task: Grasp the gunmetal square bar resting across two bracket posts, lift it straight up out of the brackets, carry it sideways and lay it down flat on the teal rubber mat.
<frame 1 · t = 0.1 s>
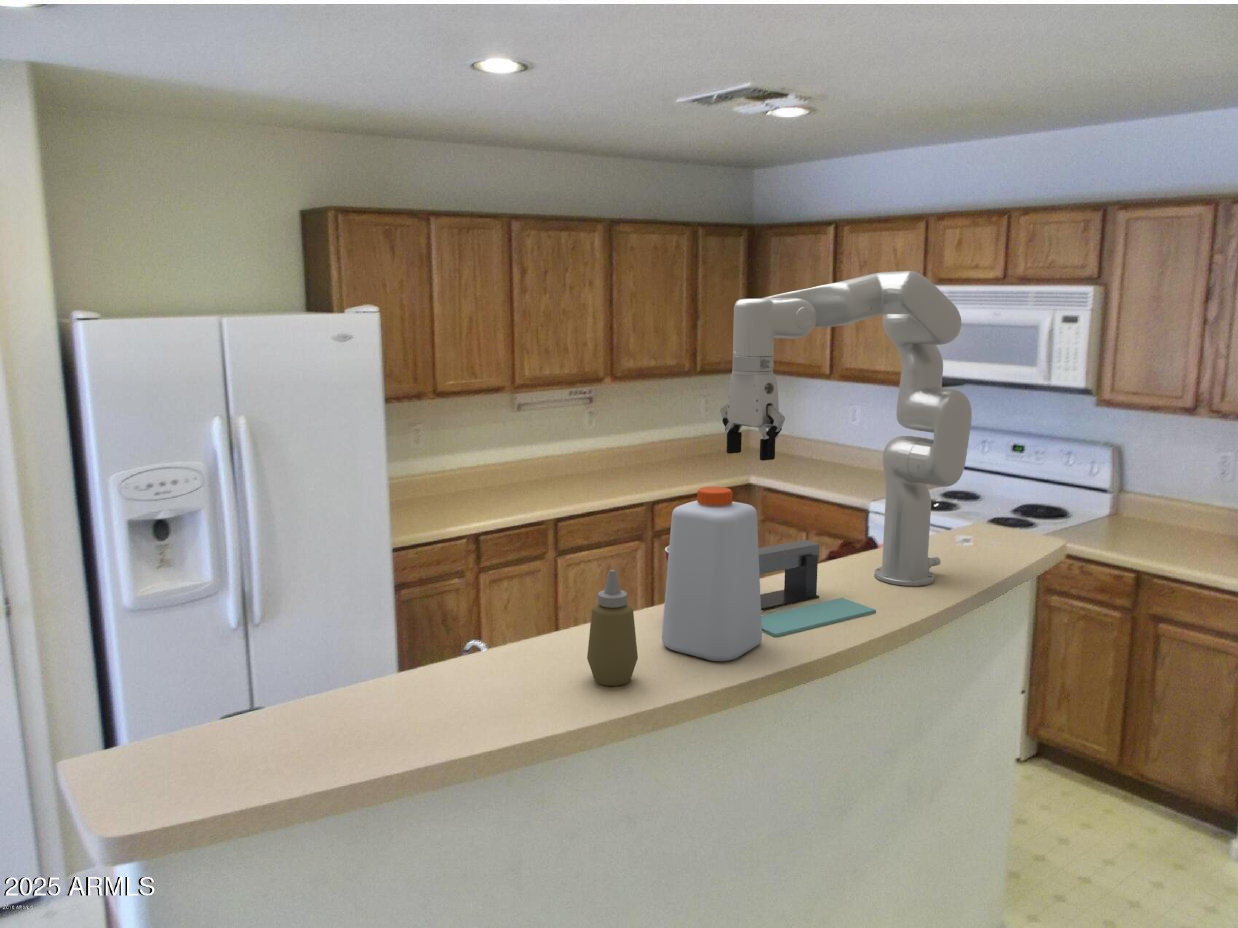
hand: (750, 456, 171), 31 cm above the counter, fingers open, 9 cm apart
squeeze bottle: (612, 680, 144), on the counter
plastic bottle: (711, 645, 159), on the counter
rail: (771, 568, 182), point 7 cm above the counter, touching brackets
mug: (694, 615, 175), on the counter
brackets: (770, 601, 183), on the counter
mat: (810, 617, 173), on the counter
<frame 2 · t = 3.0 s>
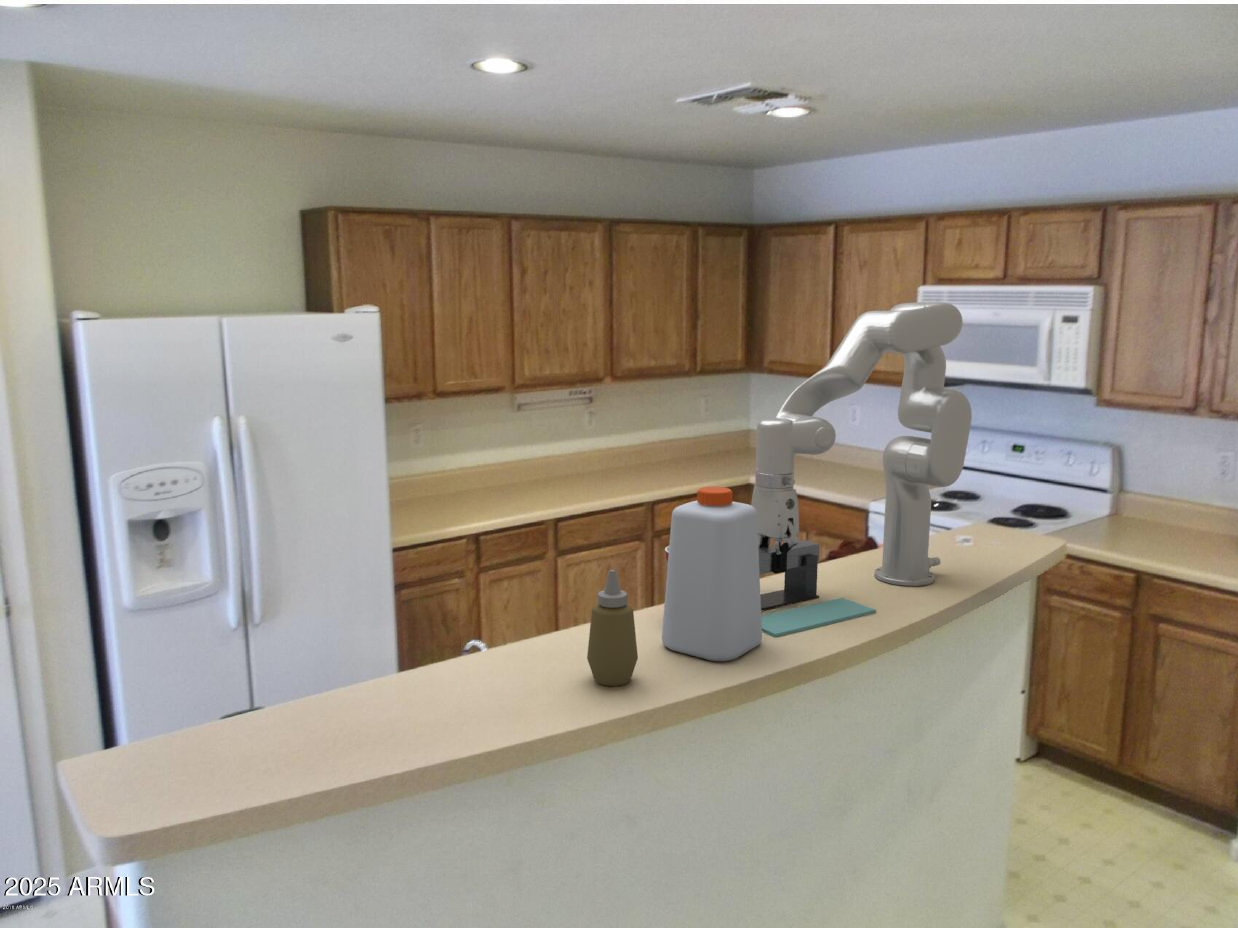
hand: (771, 568, 182), 7 cm above the counter, fingers closed on rail, 4 cm apart
rail: (771, 568, 182), point 7 cm above the counter, touching brackets, gripper
everything else where it was.
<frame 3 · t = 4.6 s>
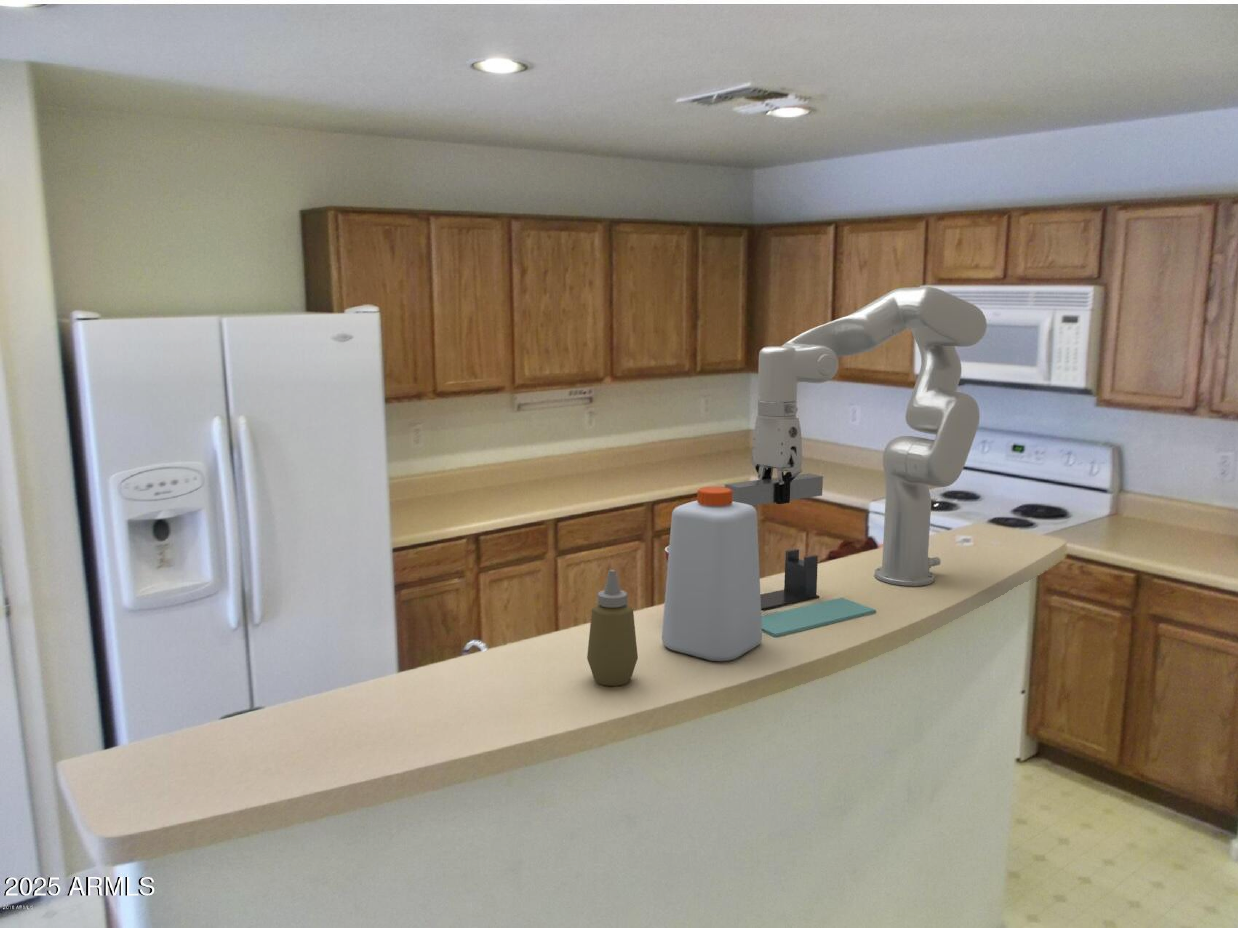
hand: (774, 500, 179), 21 cm above the counter, fingers closed on rail, 4 cm apart
rail: (774, 499, 179), point 21 cm above the counter, touching gripper
everything else where it was.
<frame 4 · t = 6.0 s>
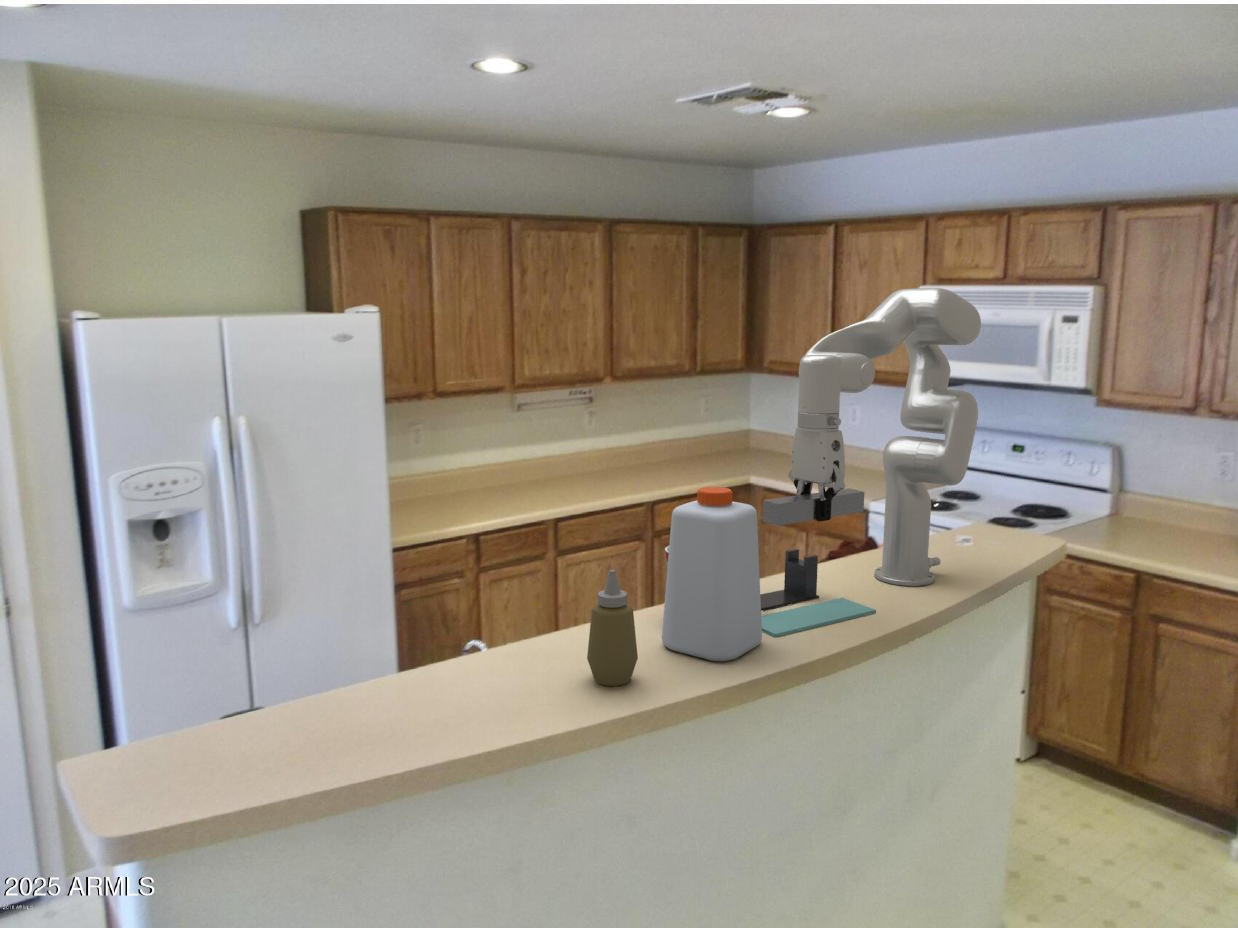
hand: (814, 517, 170), 20 cm above the counter, fingers closed on rail, 4 cm apart
rail: (814, 516, 170), point 20 cm above the counter, touching gripper
everything else where it was.
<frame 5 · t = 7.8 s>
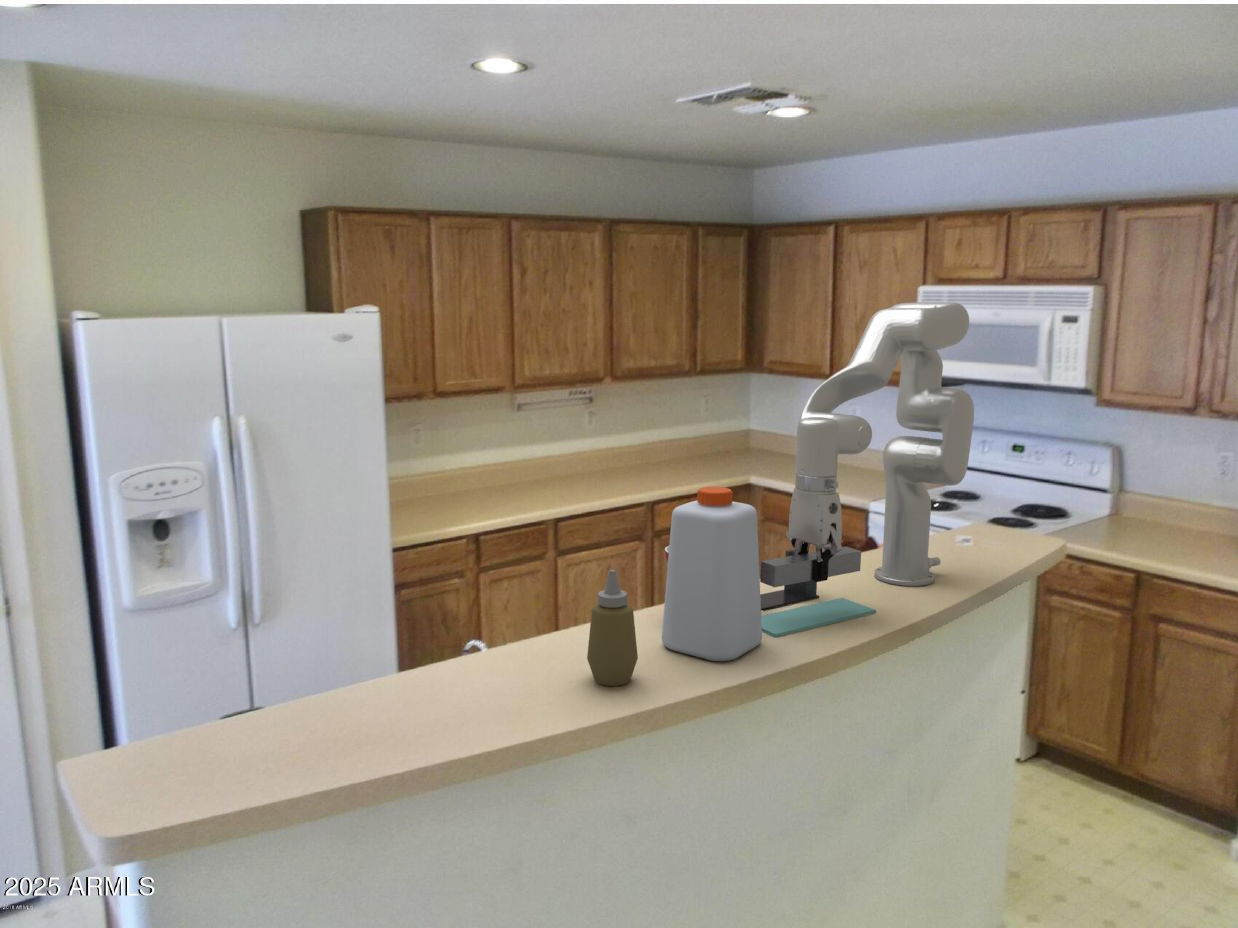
hand: (811, 576, 172), 8 cm above the counter, fingers closed on rail, 4 cm apart
rail: (811, 576, 172), point 8 cm above the counter, touching gripper
everything else where it was.
when the fingers open (1 cm above the counter, at t = 9.5 s): rail stays where it is, resting on mat.
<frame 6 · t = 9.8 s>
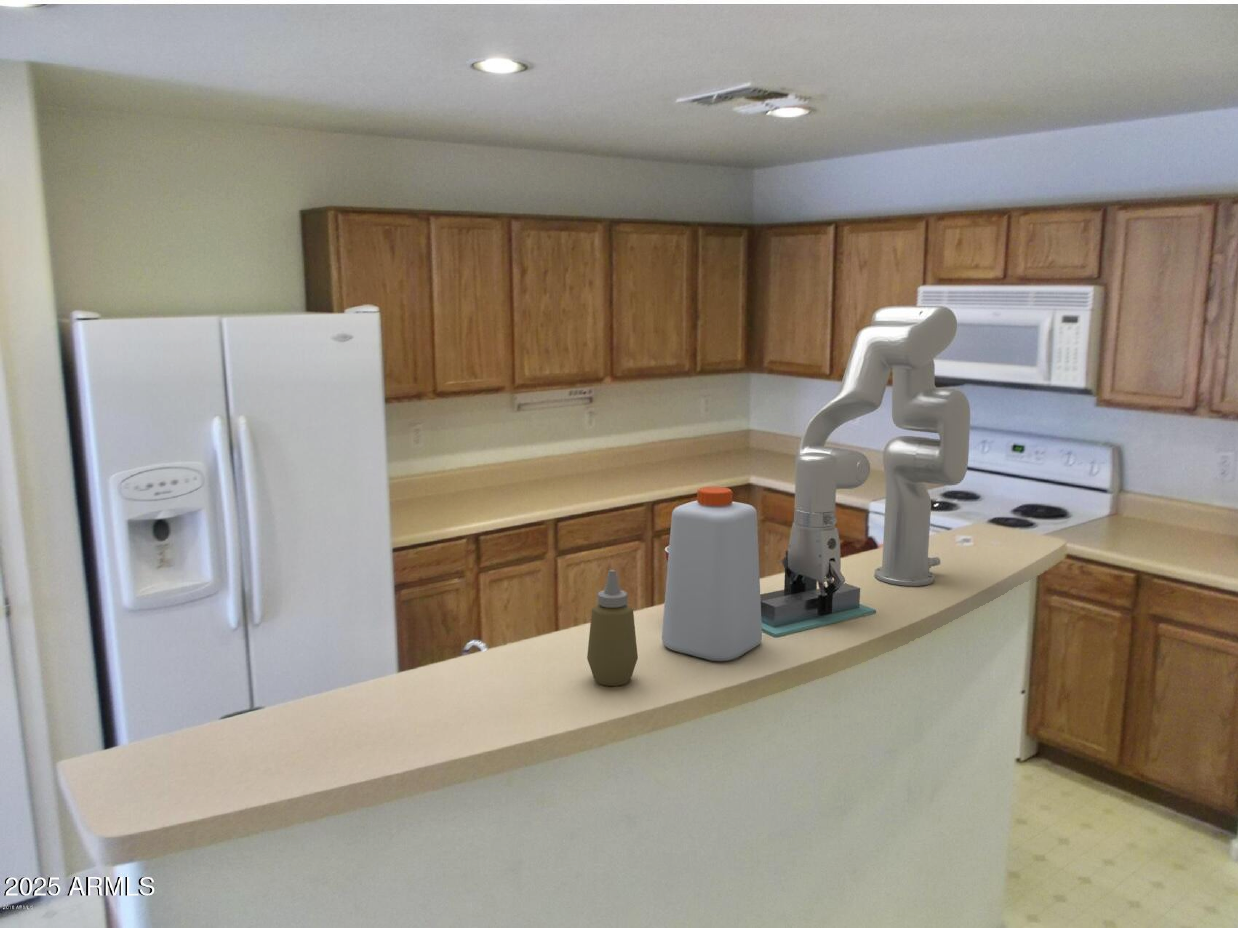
hand: (810, 608, 173), 2 cm above the counter, fingers open, 6 cm apart
rail: (810, 614, 173), point 1 cm above the counter, touching mat
everything else where it was.
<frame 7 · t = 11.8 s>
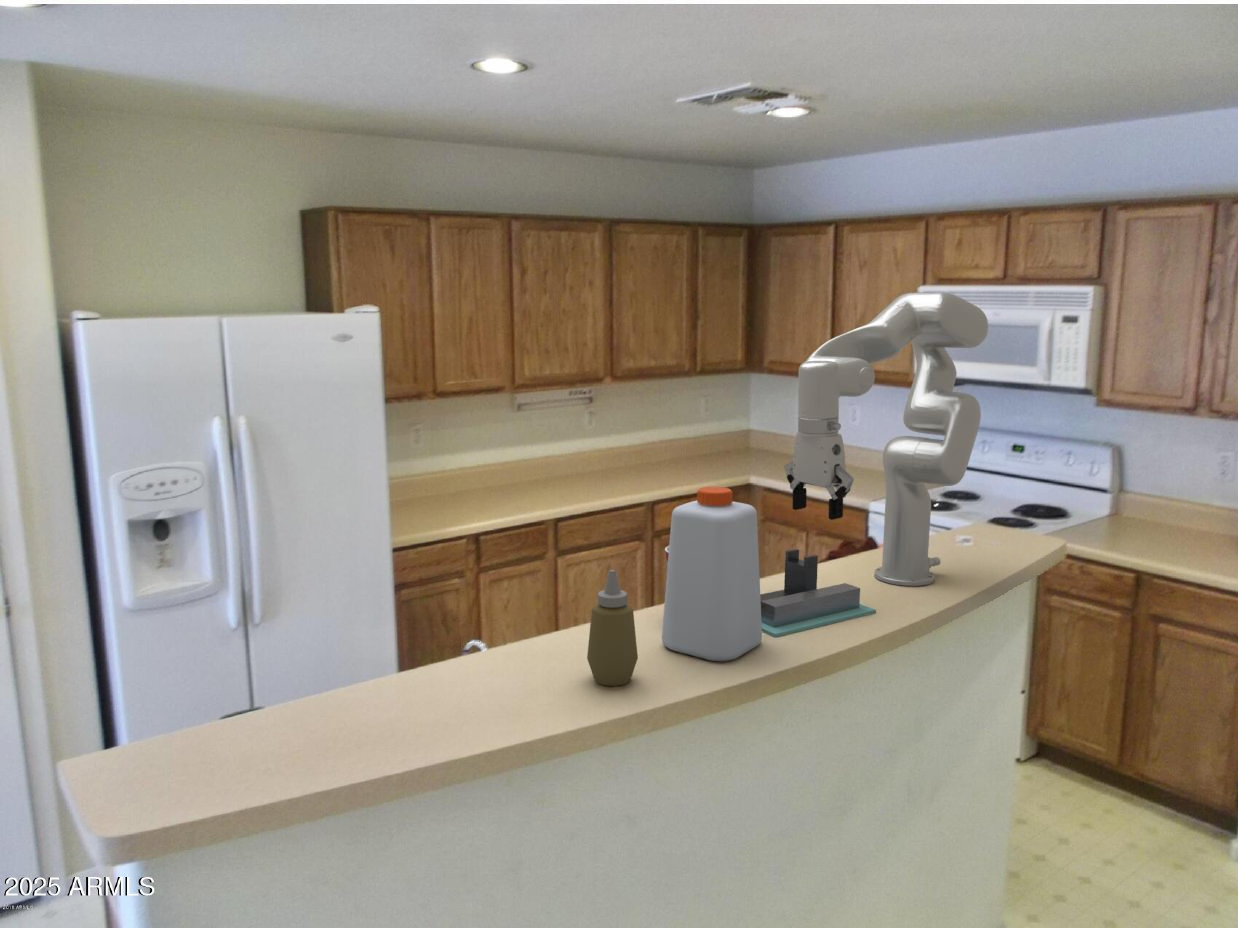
hand: (817, 513, 174), 20 cm above the counter, fingers open, 9 cm apart
nothing on the counter moved.
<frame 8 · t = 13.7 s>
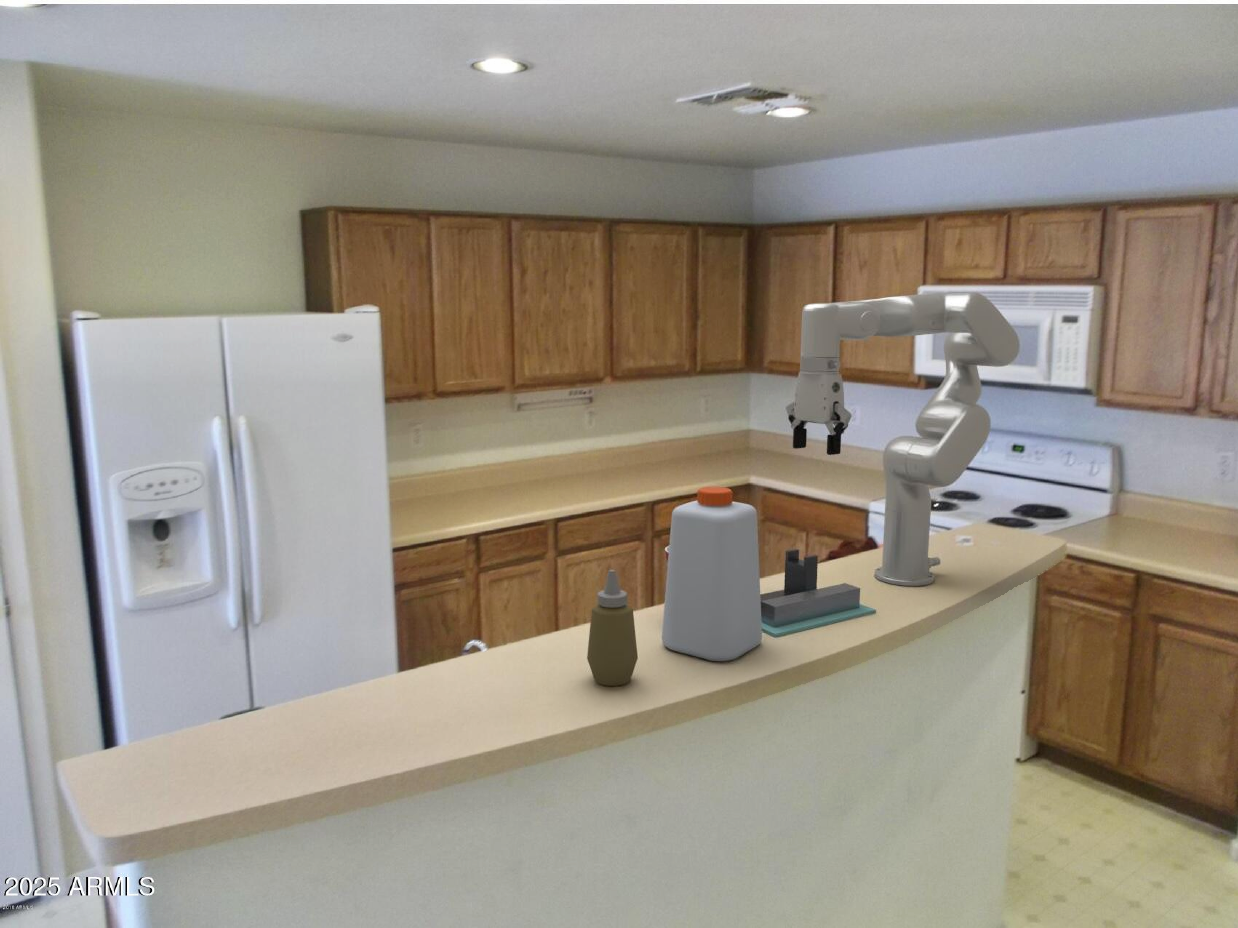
hand: (816, 451, 182), 30 cm above the counter, fingers open, 9 cm apart
nothing on the counter moved.
at the end: rail inside the target area on the mat (0.1 cm from its centre), point 0.6 cm above the mat's base; rail moved 13.2 cm from its start; the gripper is holding nothing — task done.
